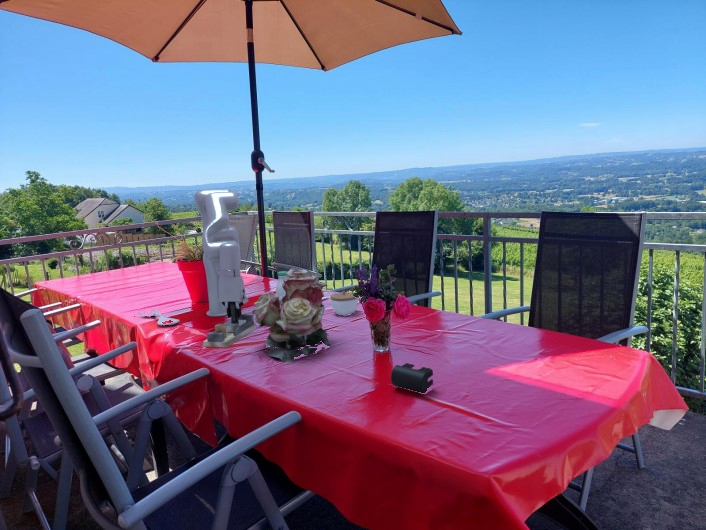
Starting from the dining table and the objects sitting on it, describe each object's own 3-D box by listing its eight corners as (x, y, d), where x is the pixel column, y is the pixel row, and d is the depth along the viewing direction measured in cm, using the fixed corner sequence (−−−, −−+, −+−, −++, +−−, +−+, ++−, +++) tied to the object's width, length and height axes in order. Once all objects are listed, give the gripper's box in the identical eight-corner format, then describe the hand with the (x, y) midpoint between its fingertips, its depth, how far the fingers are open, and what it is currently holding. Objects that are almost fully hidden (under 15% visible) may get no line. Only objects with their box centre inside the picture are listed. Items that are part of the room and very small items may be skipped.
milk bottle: (290, 314, 214) (287, 273, 211) (274, 314, 216) (271, 273, 213) (295, 310, 222) (292, 270, 219) (280, 310, 223) (277, 270, 220)
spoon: (156, 313, 229) (156, 307, 228) (183, 325, 206) (182, 317, 205) (138, 317, 223) (137, 310, 222) (163, 330, 199) (162, 322, 199)
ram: (221, 331, 184) (219, 303, 182) (231, 325, 192) (229, 298, 190) (237, 332, 182) (234, 303, 181) (246, 326, 190) (244, 298, 188)
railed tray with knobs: (203, 346, 174) (201, 331, 173) (235, 327, 198) (234, 313, 197) (226, 347, 172) (225, 332, 171) (256, 327, 195) (255, 314, 195)
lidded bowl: (347, 319, 203) (346, 295, 201) (325, 315, 210) (324, 292, 208) (363, 312, 212) (362, 289, 211) (342, 309, 220) (341, 287, 218)
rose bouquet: (250, 345, 173) (244, 267, 168) (323, 333, 184) (318, 260, 179) (266, 368, 149) (259, 278, 145) (347, 352, 161) (343, 268, 156)
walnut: (214, 339, 176) (213, 326, 175) (219, 335, 180) (218, 323, 179) (223, 339, 175) (222, 326, 174) (228, 336, 179) (227, 323, 178)
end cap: (390, 391, 129) (390, 368, 127) (404, 382, 134) (403, 360, 133) (421, 399, 122) (421, 375, 121) (434, 390, 128) (434, 367, 127)
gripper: (207, 275, 183) (211, 319, 186) (244, 275, 179) (248, 320, 182) (217, 271, 190) (221, 314, 193) (253, 271, 186) (256, 315, 189)
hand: (234, 316), depth 187 cm, fingers closed on ram, 3 cm apart
